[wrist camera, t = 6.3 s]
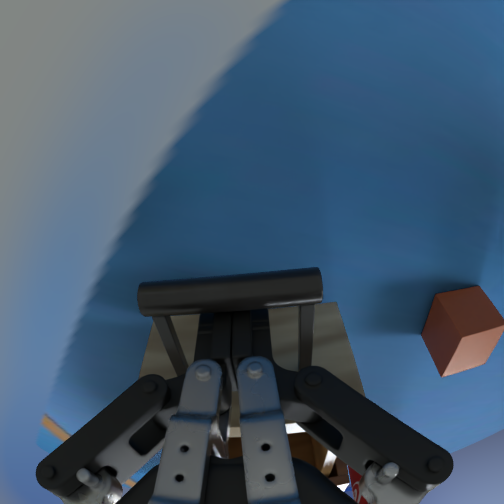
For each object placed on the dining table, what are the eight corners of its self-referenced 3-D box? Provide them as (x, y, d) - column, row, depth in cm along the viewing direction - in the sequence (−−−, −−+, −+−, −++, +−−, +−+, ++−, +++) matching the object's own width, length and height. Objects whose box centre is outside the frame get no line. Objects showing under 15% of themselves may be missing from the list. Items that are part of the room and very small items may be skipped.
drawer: (124, 231, 16) (65, 340, 10) (342, 209, 16) (402, 317, 9) (198, 417, 27) (193, 492, 20) (322, 408, 27) (334, 484, 20)
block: (479, 285, 20) (507, 324, 17) (462, 325, 23) (484, 363, 19) (435, 293, 21) (462, 337, 17) (420, 335, 23) (441, 377, 19)
